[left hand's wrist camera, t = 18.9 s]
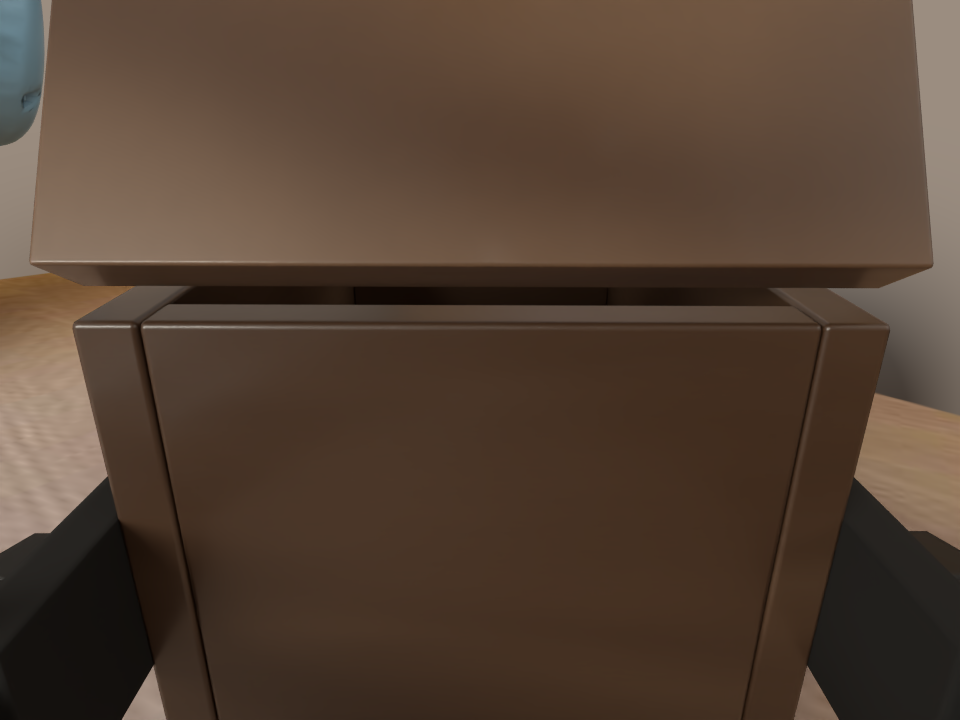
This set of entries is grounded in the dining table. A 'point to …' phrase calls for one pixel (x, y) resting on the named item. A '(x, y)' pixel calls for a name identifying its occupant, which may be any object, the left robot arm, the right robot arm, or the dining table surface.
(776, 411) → the chest
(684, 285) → the lid
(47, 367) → the dining table surface
